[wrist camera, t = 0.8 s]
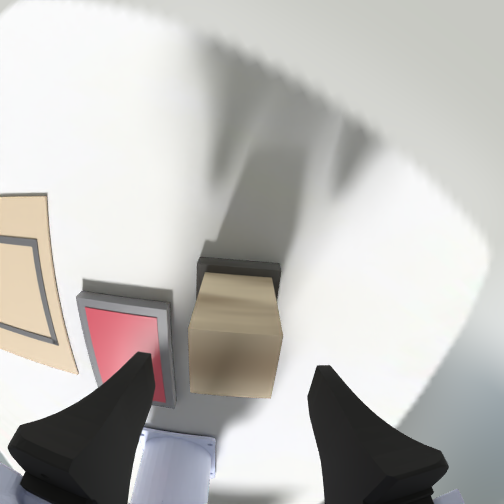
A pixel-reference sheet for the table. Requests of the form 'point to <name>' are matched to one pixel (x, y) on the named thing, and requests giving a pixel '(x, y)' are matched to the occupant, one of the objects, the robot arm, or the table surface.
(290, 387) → the table surface
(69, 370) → the cardboard sheet
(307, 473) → the table surface
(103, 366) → the ink pad
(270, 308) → the stamp
